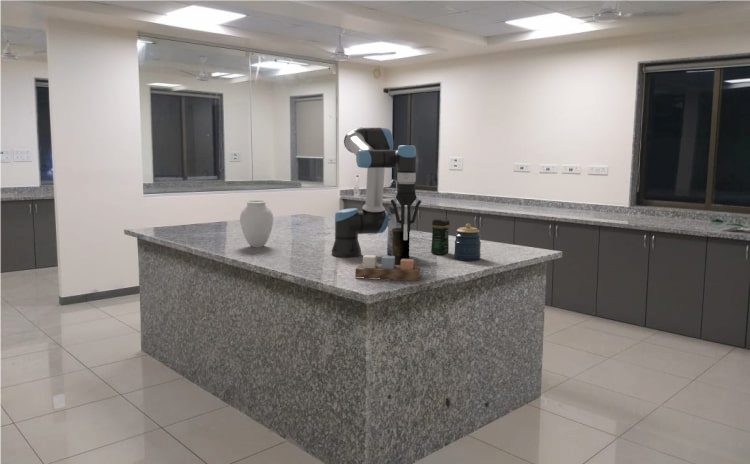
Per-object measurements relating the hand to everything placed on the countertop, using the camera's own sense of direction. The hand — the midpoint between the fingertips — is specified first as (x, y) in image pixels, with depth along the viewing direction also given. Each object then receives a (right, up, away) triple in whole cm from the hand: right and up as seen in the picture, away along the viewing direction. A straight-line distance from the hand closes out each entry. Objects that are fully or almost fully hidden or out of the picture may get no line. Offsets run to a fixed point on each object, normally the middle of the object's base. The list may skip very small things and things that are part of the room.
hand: (405, 239), depth 240 cm
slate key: (-7, -13, +3) cm, 15 cm away
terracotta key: (+1, -14, +2) cm, 15 cm away
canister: (+33, -10, +45) cm, 57 cm away
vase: (-77, -5, +76) cm, 108 cm away
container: (-1, -13, +21) cm, 25 cm away
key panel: (-7, -16, +3) cm, 18 cm away
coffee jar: (+21, -8, +59) cm, 63 cm away
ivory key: (-15, -13, +4) cm, 20 cm away
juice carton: (-1, -9, +52) cm, 53 cm away
